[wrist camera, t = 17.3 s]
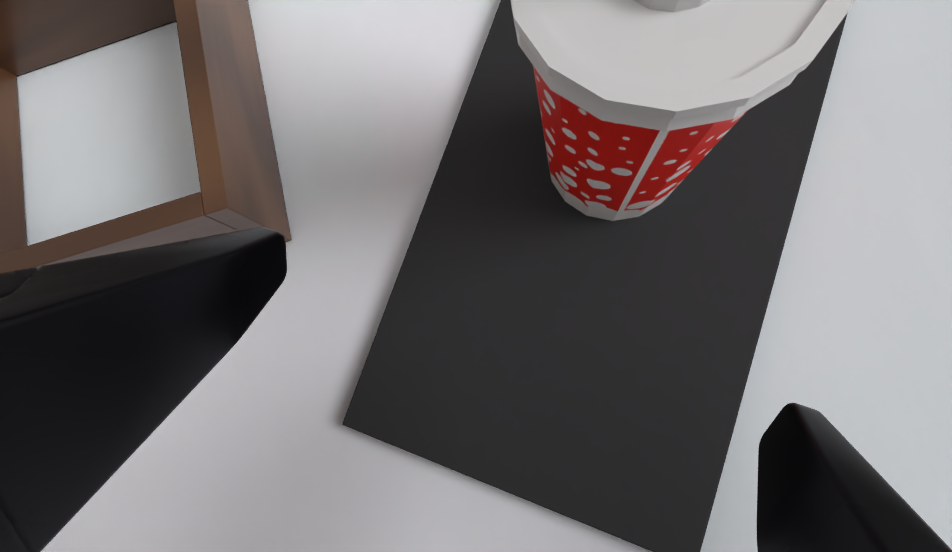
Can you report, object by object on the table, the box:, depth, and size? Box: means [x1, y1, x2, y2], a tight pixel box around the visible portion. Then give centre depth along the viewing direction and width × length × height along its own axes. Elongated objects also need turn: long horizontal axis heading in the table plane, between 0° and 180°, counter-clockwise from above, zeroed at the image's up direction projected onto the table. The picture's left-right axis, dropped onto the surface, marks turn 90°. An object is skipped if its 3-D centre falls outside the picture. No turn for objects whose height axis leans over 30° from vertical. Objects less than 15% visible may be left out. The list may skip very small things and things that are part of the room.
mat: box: [343, 0, 847, 552], centre depth 18 cm, size 20×12×1 cm, turn 161°
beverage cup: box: [511, 0, 854, 221], centre depth 11 cm, size 6×6×14 cm
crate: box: [0, 0, 291, 273], centre depth 19 cm, size 12×12×4 cm
